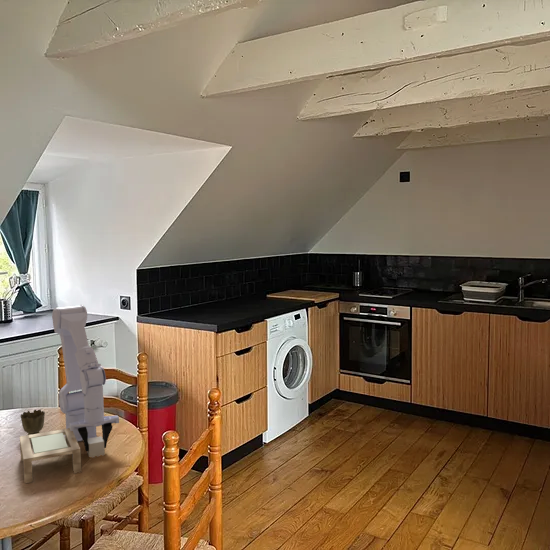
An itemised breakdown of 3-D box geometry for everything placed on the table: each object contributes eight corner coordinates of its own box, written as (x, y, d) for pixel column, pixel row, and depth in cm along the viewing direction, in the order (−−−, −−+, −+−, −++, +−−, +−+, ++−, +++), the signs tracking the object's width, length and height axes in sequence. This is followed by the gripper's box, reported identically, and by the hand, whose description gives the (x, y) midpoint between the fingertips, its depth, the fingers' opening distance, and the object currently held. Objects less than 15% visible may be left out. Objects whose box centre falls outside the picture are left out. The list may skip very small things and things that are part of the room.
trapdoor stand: (72, 449, 180) (71, 427, 179) (81, 471, 164) (80, 448, 164) (20, 458, 173) (19, 436, 173) (24, 483, 157) (23, 459, 157)
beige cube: (101, 449, 180) (101, 436, 179) (104, 455, 176) (104, 441, 175) (87, 452, 178) (86, 438, 177) (89, 458, 174) (88, 444, 173)
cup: (22, 442, 186) (21, 418, 185) (21, 434, 192) (19, 411, 191) (46, 438, 189) (45, 414, 188) (44, 430, 196) (43, 408, 195)
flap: (64, 442, 176) (64, 432, 176) (70, 457, 165) (69, 446, 165) (31, 448, 172) (31, 438, 171) (34, 463, 161) (34, 453, 161)
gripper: (71, 414, 168) (73, 458, 170) (120, 406, 175) (122, 448, 176) (67, 407, 174) (69, 449, 176) (115, 399, 181) (117, 440, 183)
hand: (95, 448), depth 177 cm, fingers open, 5 cm apart
